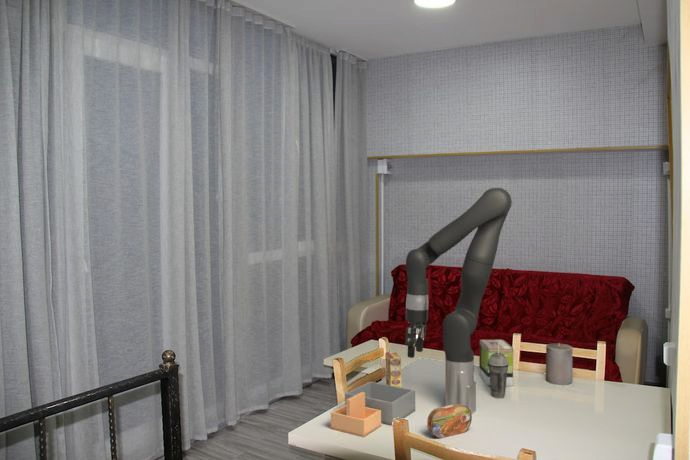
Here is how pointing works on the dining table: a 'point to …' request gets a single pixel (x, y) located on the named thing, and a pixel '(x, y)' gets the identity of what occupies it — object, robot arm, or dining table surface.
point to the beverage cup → (498, 374)
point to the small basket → (356, 417)
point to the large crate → (386, 400)
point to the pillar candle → (559, 364)
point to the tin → (449, 420)
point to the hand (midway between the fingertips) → (415, 354)
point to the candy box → (393, 369)
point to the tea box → (490, 348)
